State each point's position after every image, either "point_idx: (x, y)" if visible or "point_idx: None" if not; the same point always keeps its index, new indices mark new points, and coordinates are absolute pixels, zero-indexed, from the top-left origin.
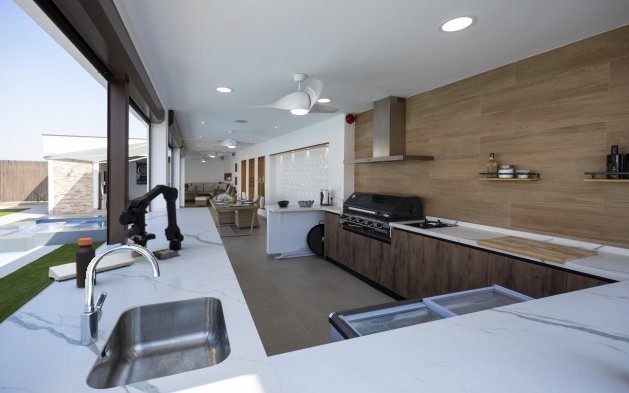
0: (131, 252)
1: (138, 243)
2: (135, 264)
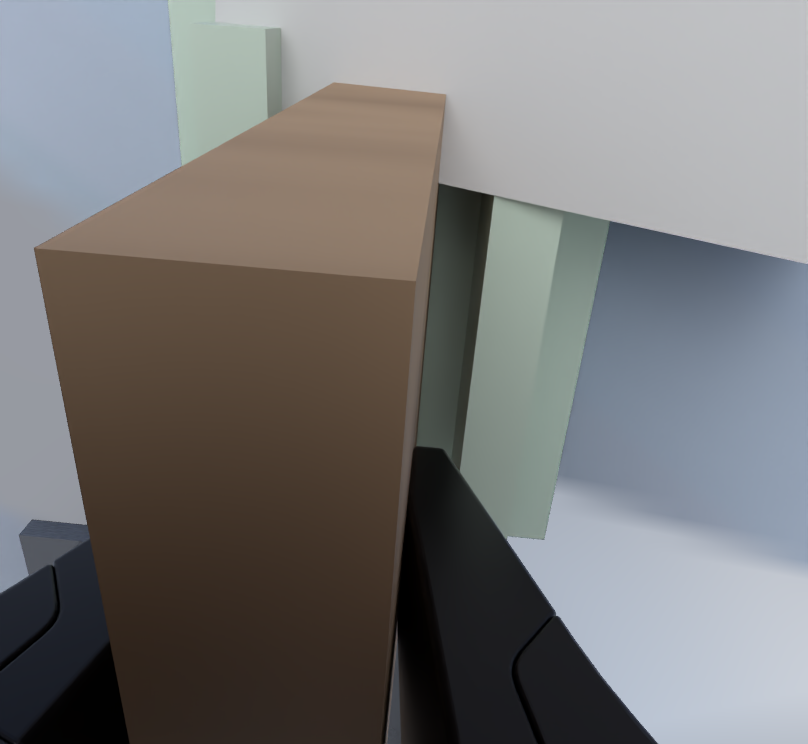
0: (407, 123)
1: (142, 712)
2: (176, 4)
